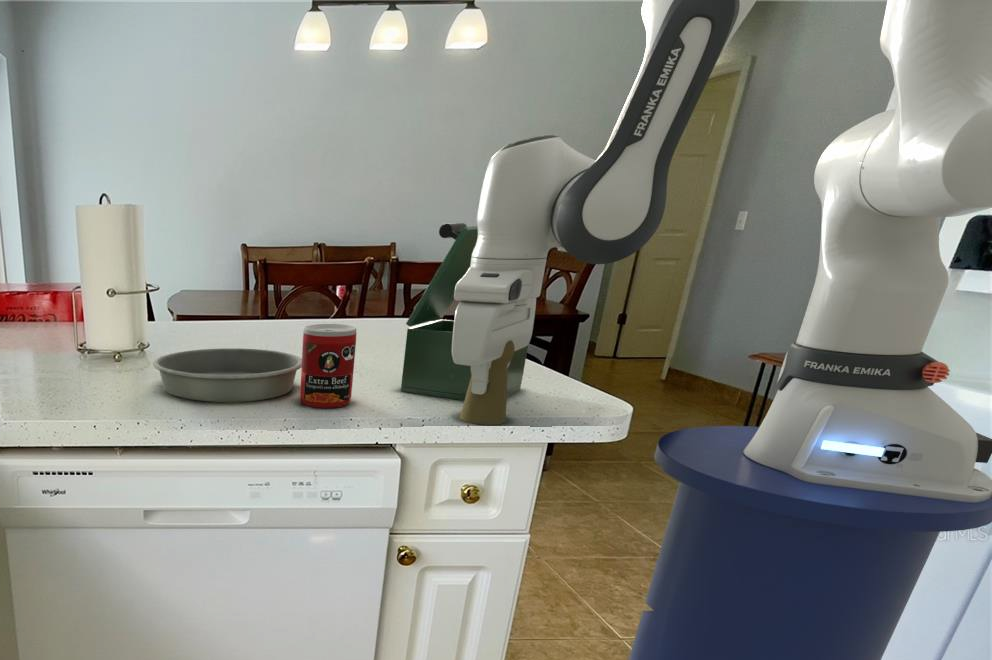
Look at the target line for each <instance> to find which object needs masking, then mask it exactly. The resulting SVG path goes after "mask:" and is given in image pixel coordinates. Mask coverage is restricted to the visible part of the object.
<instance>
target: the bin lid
mask: <svg viewBox="0 0 992 660" xmlns="http://www.w3.org/2000/svg"><path fill="white" fill-rule="evenodd" d="M438 234H439V236H440V238H442V239H453V240H454V242H453V243H452V245H451V247H450V249H449V251H448V252H447V254H446V255H445V257H444V258H443V261H442V263H441V264H440V266H439V267H438V269H437V271H436V272H435V274H434V275H433V278H432V279H431V281H430V282H429V284H428V286H427V287H426V289H425V290H424V293H423V294H422V295H421V297H420V299H419V301H418V303H417V304H416V306H415V307H414V309H413V311H412V313H411V314H410V316H409V317H408V318H407V319H408V320H407V321H406V322H405V325H407V327H408V328H411V327H415V326H418V325H422V324H426V323H429V322H433V321H437V320H440V319H443V318H444V316H445V315H446V314H447V312H448V310H449V309H450V307H451V305H452V304H453V302H454V301H455V299H454V292H455V286H456V284H457V282H458V281H459V280H460V279H461V278H462V277H463V276H464V275H465V274H466V273H467V271H468V269H469V268H470V264H471V257H472V252H473V250H474V248H475V245H476V242H477V237H478V227H477V225H476V226H475V225H473V226H467V224H466V223H464V222H450V223H449V222H448V223H443V224H442V225H441V226H440V227H439V229H438Z"/></svg>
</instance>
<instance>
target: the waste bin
mask: <svg viewBox="0 0 992 660" xmlns="http://www.w3.org/2000/svg"><path fill="white" fill-rule="evenodd" d="M453 327H454V320H452V319H442V318H440V319H436V320H432V321H429V322H425V323H421V324H418V325H414V326H410V327H408V328H407V329H406V339H405V347H404V348H405V349H404V357H403V364H402V365H403V367H402V373H401V374H402V375H401V384H400V392H405V393H411V394H417V395H423V396H430V397H437V398H438V397H439V398H443V399H452V400H457V401H458V400H459V401H464V400H465V397H466V393H467V390H468V386H469V383H470V379H471V376H472V374H471V366H467V365H460V364H455V363H454V361H453V357H452V338H453ZM528 348H529V345H528V346H526V347H523V348H521V349H519V350H516V351H514V356H513V358H512V360H511V361H510V364H509V366H508V370H507V397H510V396H511V395H513V394H515V393H516V392H518V391H520V390H521V387H522V382H523V378H524V377H523V376H524V371H525V365H526V360H527V354H528Z"/></svg>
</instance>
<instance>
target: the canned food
mask: <svg viewBox="0 0 992 660" xmlns="http://www.w3.org/2000/svg"><path fill="white" fill-rule="evenodd" d="M356 346H357V327H356V326H353V325H348V324H339V323H319V324H318V323H317V324H310V325H306V326H304V328H303V335H302V351H301V359H302V367H301V370H300V371H301V372H300V376H301V377H300V395H299V396H300V401H301V403H302V404H303V405H305V406H307V407H311V408H318V409H319V408H320V409H337V408H343V407H345V406H347V405H349V404H350V401H351V398H352V394H353V393H352V392H353V383H354V371H355V369H354V368H355V359H356Z"/></svg>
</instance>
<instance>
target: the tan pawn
mask: <svg viewBox="0 0 992 660" xmlns="http://www.w3.org/2000/svg"><path fill="white" fill-rule="evenodd" d="M514 351H515V347H514V343H513V341H511V340H510V341H508V342H507V343H506V345H505V348H504V351H503V354H502V356H501V357H500V358H497V359H495V360H493V361H491V367H490V368H489V374H488V380H490V384H489V390H488V391H487V392H486V393H484V394H482V395H480V394H474V393H472V391H471V388H472V381H473V380H472V376H471V379H470V383H469V386H468V390H467V393H466V397H465V400H463V405H462V408H461V411H460V415H459V419H460V420H461V421H464V422H465V423H470V424H475V425H485V426H486V425H487V426H489V425H490V426H492V425H493V426H494V425H501V424H505V423H507V401H508V400H507V399H508V396H507V370H508V363H509V362H510V361H511V360H512V358H513V356H514Z"/></svg>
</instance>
